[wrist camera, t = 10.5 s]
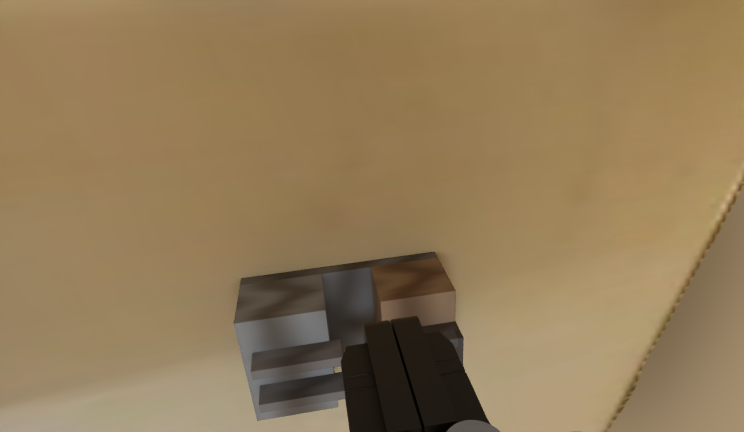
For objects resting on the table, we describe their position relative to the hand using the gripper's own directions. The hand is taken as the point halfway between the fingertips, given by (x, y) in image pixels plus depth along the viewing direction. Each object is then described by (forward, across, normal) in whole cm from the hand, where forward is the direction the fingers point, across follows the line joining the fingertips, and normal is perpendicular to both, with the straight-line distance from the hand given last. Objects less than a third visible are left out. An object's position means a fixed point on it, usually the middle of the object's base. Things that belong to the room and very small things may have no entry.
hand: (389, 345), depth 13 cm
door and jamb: (+32, 0, +23) cm, 39 cm away
